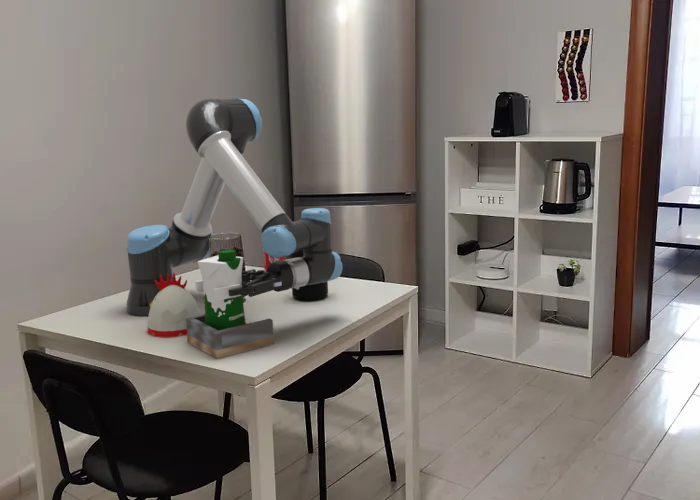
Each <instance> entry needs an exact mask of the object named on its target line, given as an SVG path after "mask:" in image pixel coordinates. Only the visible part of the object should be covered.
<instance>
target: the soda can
mask: <svg viewBox="0 0 700 500" xmlns="http://www.w3.org/2000/svg"><path fill="white" fill-rule="evenodd" d="M262 253H263V254H262V255H263V257H262V258H263V270H264V271H266V270H267V269H268V266H269V264H270V263H272V262H277V261H285V260H286V256H283V257H271V256H269V255H268V254H267V253H266V252H265V251H264V250H263V249H262Z"/></svg>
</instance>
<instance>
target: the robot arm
mask: <svg viewBox="0 0 700 500" xmlns="http://www.w3.org/2000/svg"><path fill="white" fill-rule="evenodd" d="M185 128H186V134H187V138H188V139H189V142H190V144H191V146H192V147H193V149H194V150H195V152H196V153H197V154H198V155H199V157H201V159H200V162H199V165H198V168H197V170H196V173H195V175H194V178H193V181H192V183H191V186H190V189H189V192H188V194H187V196H186V199H185V202H184V205H183V207H182V210H181V212H177V213H175V215H174V217H173V219H172V222H171V225H170V226H169V227H168V226H167V225H164V224H152V225H147V226H146V225H145V226H142V227H139V228H136V229H134V230H131V231H130V232H129V233H128V235H127V236H126V251H127V259H128V267H129V268H128V269H129V279H130V287H129V291H128V295H127V299H126V312H127V313H128V314H129V315H133V316H142V317H143V316H149V312H150V304H151V302H152V301H153V300H154V298H155V296H156V295H157V294H158V292H159V291H160V290H159V288H158V287H157V285H156V283H155V281H154V279H155V280H156V281H157V282H158V283H160V274H161V276H162V278H163V280H164V282H166V280H167V274H169V278H170V281H172V278H173V268H176V267H181V266H185V265H189V264H192V263H193V264H194V263H198V262H197V261H200V260H204V259H207V257H208V256H209V255H210V254H209V238H210V236H212V235H214V232H213V226H212V224H211V220H212V217H213V216H214V213H215V210H216V207H217V205H218V203H219V199H220V198H221V195H222V192H223V189H224V187H225V185H226V186H227V187H228V189H229V190H230V191H231V193H232V195H233V196H234V197H235V198H236V200H237V202H239V203H240V205H241V206H242V208H243V209H244V210H245V212H246V213H247V214H248V216H249V217H250V218H251V220H252V221H253V222H254V224H255V225H256V227H257V228H258V229H259V230H260V232H261V233H262V234H261V237H260V238H261V239H260V243H261V245H262V251H263V250H264V251H265V252H266V253H267V254H268V255H269V256H271V257H283V256H285V257H288V256H290V254H292V253H295V252H298V251H302V250H303V252H304V256H303V257H298V258H292V259H291V258H288V259H287V258H286V259H285V261H277V262H272V263H270V264H269V266H268V269H267V270H266V271H264V269H259V270H257V271H256V269H255V268H254V269H253V268H252V269H248V270H242V274H241V277H242V282H241V283H242V287H241V285H240V284H236V285H231V286H226V287H221V288H216V289H214V300H215V301H218V300H223V299H228V298H233V297H237V296H241V294H242V295H243V297H244V296H245V297H246V296H247V297H249V298H252V297H255V296H259V295H262V294H265V293H268V292H272V291H274V292H277V293H278V292H283V291H288V290H292V288H295V289H299V287H301V286H306V285H311V284H317V283H322V282H327V281H328V282H330V281H334V280H336V279H338V278H339V277H340V276H341V275H342V272H343V262H342V261H341V260H342V258H341V256H340V255H339V253H337V252H335V251H333V249H332V248H333V245H332V244H333V242H332V241H333V240H332V239H333V238H332V221H331V220H332V219H331V212H330V210H329V209H327V208H322V207H316V208H315V207H313V208H311V207H310V208H306V209H303V210H302V211H301V214H300V216H301V217H300V219H299V220H295V221H292V219H290V217H289V215H287V213H286V212H285V210H284V209H283V207H281V205H280V204H279V203H278V201H277V200H276V199H275V197H274V196H273V195H272V194H271V193H272V192H270V191H269V189H268V188H267V187H266V186H265V184H264V183H263V182H262V180H261V179H260V178H259V176H258V175H257V173H256V171H254V170H253V168H252V167H251V166H250V165H249V163H248V162H247V160H246V159H245V158H244V156H243V154H244V153H245V149H246V147H247V146H248V143H250V142H253V141H255V140H257V138H259V137H260V135H261V132H262V129H263V120H262V117H261V115H260V111H259V109H258V106H256V105H255V104H254V102H252V101H251V100H248V99H244V98H238V97H233V98H204V99H202V100H199V101H197V102H195V104H194V105H192V107H191V108H190V109H189V111H188V113H187V116H186V119H185ZM194 283H195V292H196V294H198V293H202V292H203V293H204V291H203V280H202V279H200V280H195V281H194Z"/></svg>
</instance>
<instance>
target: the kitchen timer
mask: <svg viewBox="0 0 700 500" xmlns="http://www.w3.org/2000/svg"><path fill="white" fill-rule="evenodd" d="M172 276H173V278H172V281H170V278H169V274H167V280H166V282H164V280H163V278H162V276H161V274H160V283H158V282H157V281H156V280H155V279H154V281H155V283H156V285H157V287H158V288H159V290H160V291H159V292H158V294H157V295H156V296H155V298H154V300H153V301H152V302H151V304H150V312H149V316H148V317H147V333H148V334H149V335H151V336H153V337H155V338H157V337H158V338H177V337H184V336H187V327H186V318H188V317H193V316H197V315H202V314H201V311H200V309H199V305H198V304H197V302H196V300H195V297H194V296H193V295H192V294H191V292H190V291H188V290H187V289H186V286H187V283H188V279H186V280H185V282H184V283H183V284H181V283H182V276H181V275H180V276H179V277H178V279H177V277H176V273H175V272H172Z"/></svg>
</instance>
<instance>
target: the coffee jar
mask: <svg viewBox="0 0 700 500" xmlns="http://www.w3.org/2000/svg"><path fill="white" fill-rule="evenodd" d="M303 256H304V252H303V250H302V251H298V252H295V253H292V254H290V255H289V257H290V259H292V258H298V257H303ZM328 283H329V281H327V282H322V283H317V284H311V285H306V286H301V287H299V289H295V288H292V289H291V293H292V297H293V298H294V299H295V300H296V301H300V302H316V301H321V300H323V299H325V298H326V297H327V296H328V294H329V284H328Z"/></svg>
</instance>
